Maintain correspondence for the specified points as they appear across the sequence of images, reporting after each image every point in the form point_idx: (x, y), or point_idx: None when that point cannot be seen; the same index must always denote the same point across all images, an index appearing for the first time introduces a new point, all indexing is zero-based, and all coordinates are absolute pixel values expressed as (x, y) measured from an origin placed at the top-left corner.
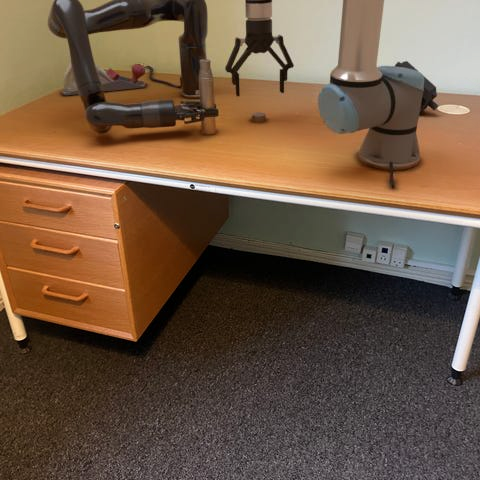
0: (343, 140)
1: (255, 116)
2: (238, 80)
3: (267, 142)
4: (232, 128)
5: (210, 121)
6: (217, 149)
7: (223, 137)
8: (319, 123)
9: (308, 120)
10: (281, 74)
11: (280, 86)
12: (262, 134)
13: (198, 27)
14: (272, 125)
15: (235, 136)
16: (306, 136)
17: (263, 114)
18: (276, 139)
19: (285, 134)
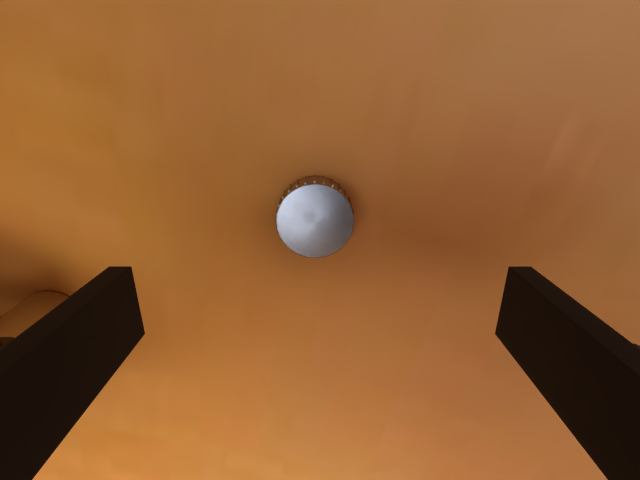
0: (568, 468)
1: (290, 247)
2: (46, 451)
3: (301, 444)
4: (168, 294)
5: None
6: (116, 466)
7: (131, 380)
8: (588, 309)
9: (562, 263)
10: (612, 470)
11: (527, 323)
12: (297, 378)
13: None
14: (366, 293)
15: (182, 379)
16: (461, 421)
17: (340, 232)
18: (341, 427)
19: (390, 393)
